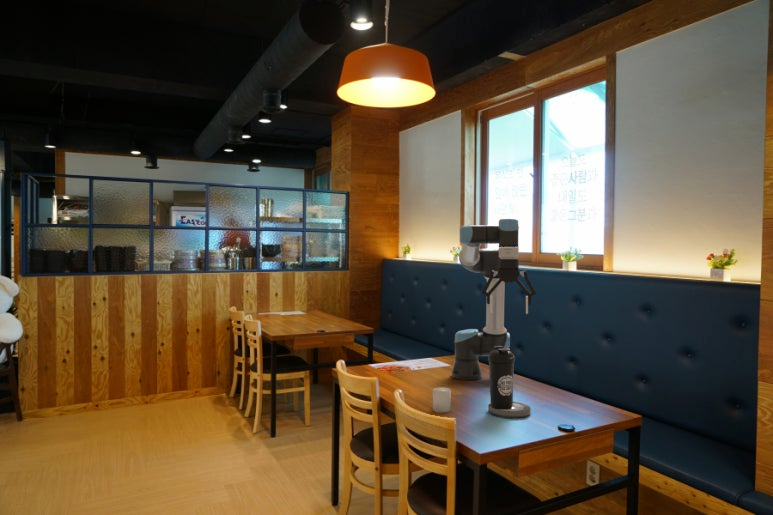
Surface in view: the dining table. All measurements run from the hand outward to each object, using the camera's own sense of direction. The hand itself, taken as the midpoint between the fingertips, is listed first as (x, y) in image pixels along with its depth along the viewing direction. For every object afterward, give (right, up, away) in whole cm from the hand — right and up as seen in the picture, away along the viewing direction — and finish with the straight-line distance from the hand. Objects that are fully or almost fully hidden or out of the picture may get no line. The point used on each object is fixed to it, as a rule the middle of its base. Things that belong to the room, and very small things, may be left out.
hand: (508, 313), depth 201 cm
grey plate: (0, -39, 0) cm, 39 cm away
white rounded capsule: (-26, -39, +4) cm, 47 cm away
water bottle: (-3, -37, +1) cm, 37 cm away
